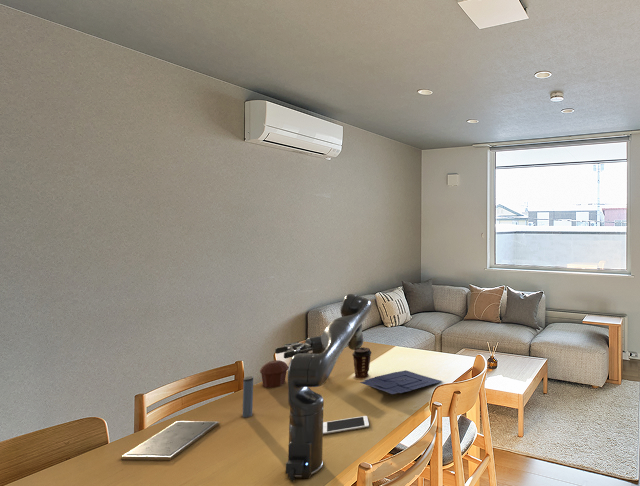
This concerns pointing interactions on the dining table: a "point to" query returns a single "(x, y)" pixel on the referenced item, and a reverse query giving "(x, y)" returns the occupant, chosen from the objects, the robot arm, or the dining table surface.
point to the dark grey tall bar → (247, 396)
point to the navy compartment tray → (399, 382)
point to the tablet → (170, 441)
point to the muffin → (274, 373)
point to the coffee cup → (361, 362)
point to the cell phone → (345, 424)
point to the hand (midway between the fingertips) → (279, 353)
